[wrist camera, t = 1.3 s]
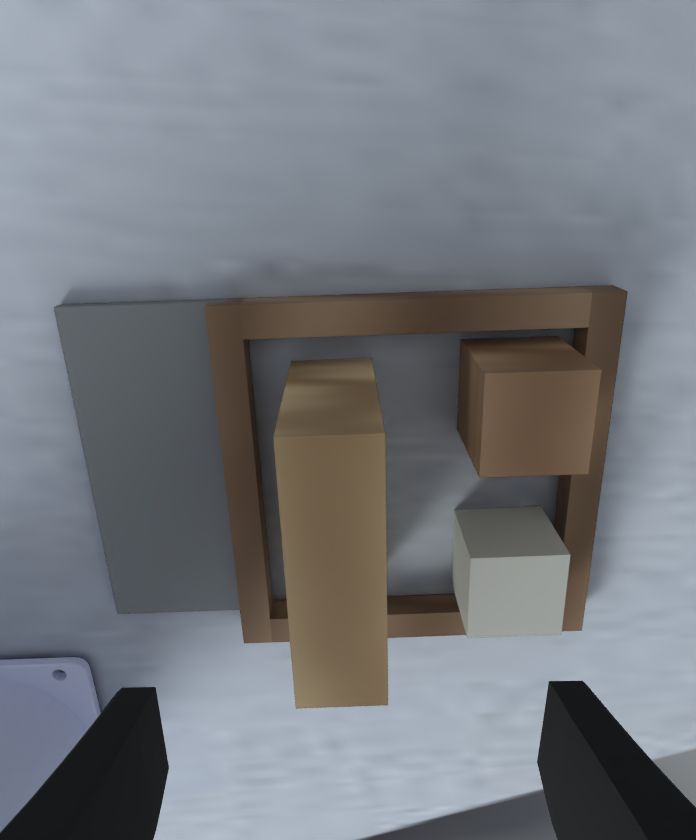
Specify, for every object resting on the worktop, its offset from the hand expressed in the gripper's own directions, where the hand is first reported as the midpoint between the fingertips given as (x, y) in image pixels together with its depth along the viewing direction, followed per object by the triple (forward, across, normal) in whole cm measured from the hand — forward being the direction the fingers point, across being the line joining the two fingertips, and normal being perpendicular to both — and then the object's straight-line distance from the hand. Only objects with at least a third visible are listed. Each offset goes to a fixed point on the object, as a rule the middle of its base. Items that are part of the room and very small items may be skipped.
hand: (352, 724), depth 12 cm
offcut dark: (+10, -5, -3) cm, 12 cm away
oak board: (+10, 0, 0) cm, 10 cm away
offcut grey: (+10, -5, +3) cm, 12 cm away
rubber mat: (+10, +6, 0) cm, 12 cm away
